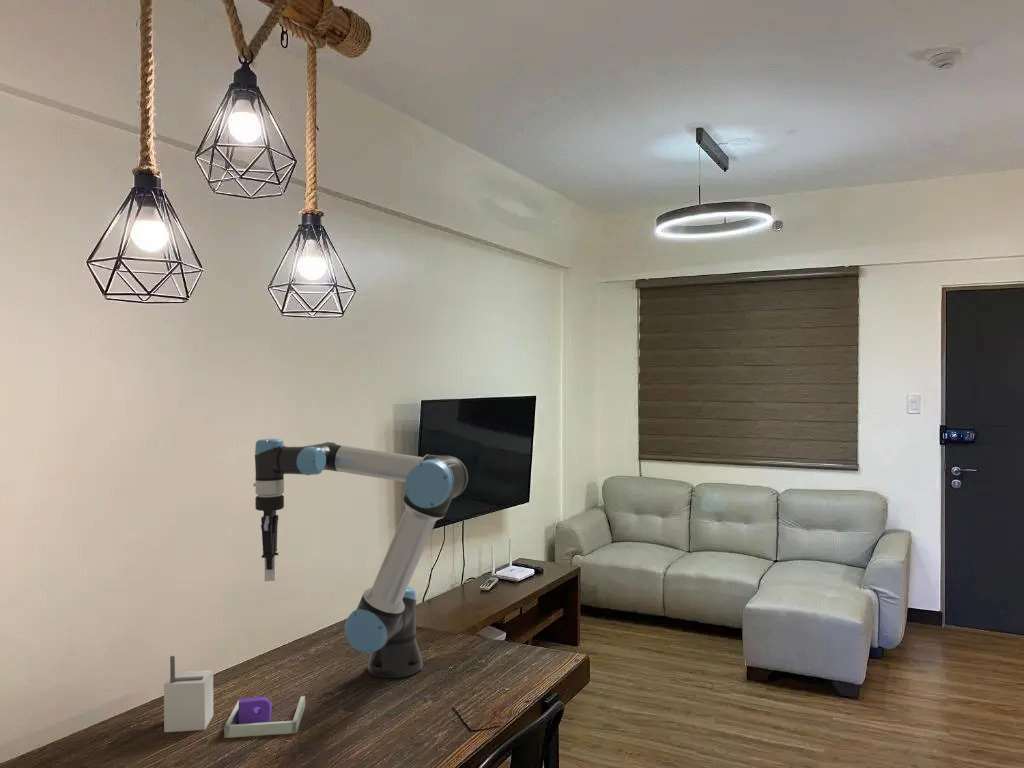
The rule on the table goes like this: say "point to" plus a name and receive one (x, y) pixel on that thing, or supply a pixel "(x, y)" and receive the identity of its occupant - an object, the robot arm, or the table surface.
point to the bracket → (254, 710)
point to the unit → (188, 700)
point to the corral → (262, 724)
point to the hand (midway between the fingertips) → (270, 580)
